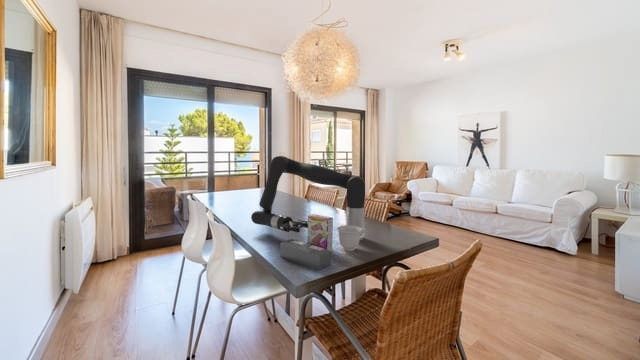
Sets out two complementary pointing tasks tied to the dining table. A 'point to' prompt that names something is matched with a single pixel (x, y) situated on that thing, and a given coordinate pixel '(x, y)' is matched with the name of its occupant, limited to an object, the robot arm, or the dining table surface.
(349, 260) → the dining table surface
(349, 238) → the teacup
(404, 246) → the dining table surface
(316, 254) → the box
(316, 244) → the candy bar box
